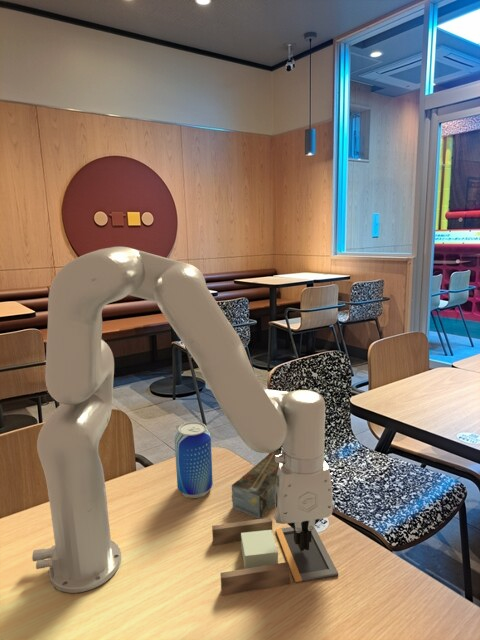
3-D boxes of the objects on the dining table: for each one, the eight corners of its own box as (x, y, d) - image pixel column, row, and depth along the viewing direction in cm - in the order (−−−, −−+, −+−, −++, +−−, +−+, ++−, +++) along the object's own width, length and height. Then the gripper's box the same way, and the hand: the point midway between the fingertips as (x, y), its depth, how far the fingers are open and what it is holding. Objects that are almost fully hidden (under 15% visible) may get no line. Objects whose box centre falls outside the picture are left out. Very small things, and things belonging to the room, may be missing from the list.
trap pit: (295, 583, 77) (295, 580, 76) (275, 531, 89) (275, 529, 89) (338, 575, 78) (338, 572, 78) (312, 526, 91) (312, 523, 91)
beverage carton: (230, 508, 98) (229, 481, 96) (274, 469, 113) (274, 445, 111) (260, 521, 93) (259, 493, 92) (302, 478, 108) (302, 454, 107)
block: (245, 574, 79) (245, 555, 78) (241, 550, 85) (240, 532, 84) (278, 570, 80) (277, 552, 79) (271, 547, 85) (271, 529, 85)
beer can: (183, 504, 99) (179, 439, 96) (173, 484, 107) (169, 424, 103) (218, 494, 102) (215, 431, 99) (205, 476, 110) (203, 417, 106)
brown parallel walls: (222, 595, 74) (221, 578, 74) (212, 541, 87) (212, 525, 86) (289, 584, 76) (289, 567, 76) (270, 532, 89) (270, 517, 89)
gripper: (268, 474, 74) (269, 566, 78) (350, 464, 77) (347, 553, 81) (258, 452, 82) (259, 537, 86) (334, 443, 84) (331, 526, 88)
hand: (302, 545), depth 83 cm, fingers closed
